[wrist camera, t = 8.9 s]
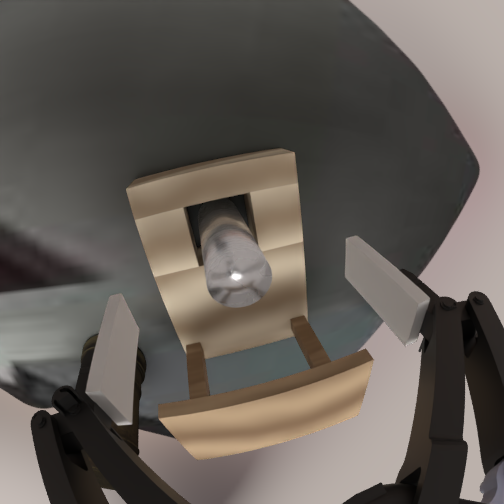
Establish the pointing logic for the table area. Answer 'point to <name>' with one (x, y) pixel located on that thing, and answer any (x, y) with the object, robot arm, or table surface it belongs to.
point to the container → (131, 431)
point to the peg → (231, 256)
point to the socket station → (242, 308)
